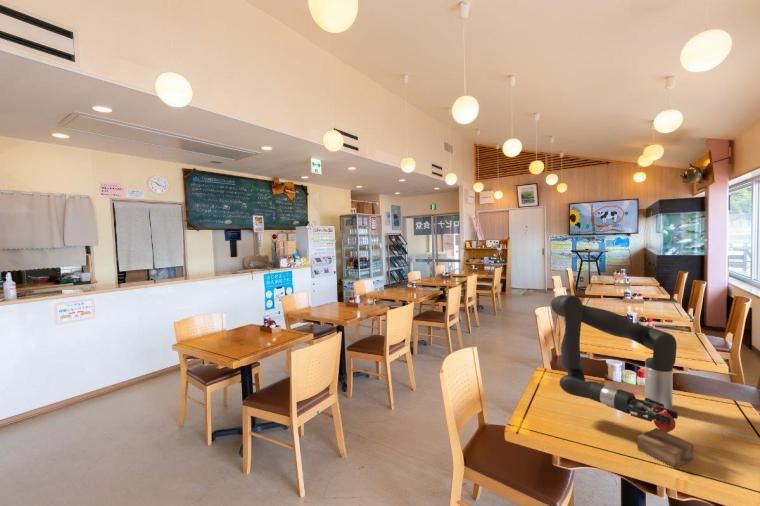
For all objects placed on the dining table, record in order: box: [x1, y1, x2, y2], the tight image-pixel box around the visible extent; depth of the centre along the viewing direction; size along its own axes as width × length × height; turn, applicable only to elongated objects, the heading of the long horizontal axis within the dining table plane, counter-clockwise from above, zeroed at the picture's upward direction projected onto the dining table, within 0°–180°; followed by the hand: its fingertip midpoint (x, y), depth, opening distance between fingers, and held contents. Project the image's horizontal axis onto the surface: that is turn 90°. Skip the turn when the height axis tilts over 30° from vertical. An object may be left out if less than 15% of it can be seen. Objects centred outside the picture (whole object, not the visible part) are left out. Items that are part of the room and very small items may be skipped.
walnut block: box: [637, 427, 695, 469], centre depth 120 cm, size 11×11×5 cm
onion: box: [653, 410, 676, 433], centre depth 119 cm, size 6×6×8 cm
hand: (674, 418), depth 117 cm, fingers closed on onion, 5 cm apart
